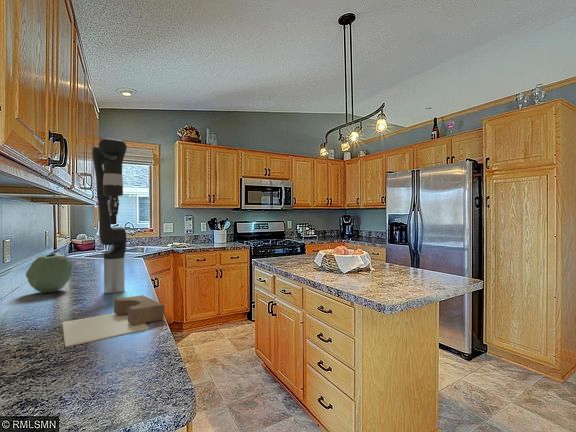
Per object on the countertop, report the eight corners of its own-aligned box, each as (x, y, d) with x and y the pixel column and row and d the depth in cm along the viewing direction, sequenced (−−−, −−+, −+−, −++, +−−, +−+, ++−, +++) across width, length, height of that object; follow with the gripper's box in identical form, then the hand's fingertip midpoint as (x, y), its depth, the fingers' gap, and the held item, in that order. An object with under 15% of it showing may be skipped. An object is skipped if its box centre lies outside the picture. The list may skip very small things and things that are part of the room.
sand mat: (62, 323, 109) (62, 322, 109) (133, 310, 123) (133, 309, 123) (65, 347, 89) (65, 346, 89) (149, 329, 103) (149, 327, 103)
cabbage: (25, 292, 156) (25, 253, 156) (70, 286, 168) (70, 250, 168) (26, 298, 144) (26, 256, 144) (74, 291, 156) (74, 252, 157)
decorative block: (113, 312, 118) (132, 325, 104) (114, 298, 118) (133, 308, 105) (142, 308, 126) (163, 320, 112) (143, 295, 126) (165, 304, 112)
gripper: (101, 185, 136) (101, 224, 136) (105, 182, 126) (105, 224, 126) (120, 186, 141) (120, 223, 141) (125, 183, 131) (125, 224, 130)
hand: (113, 224), depth 133 cm, fingers closed
